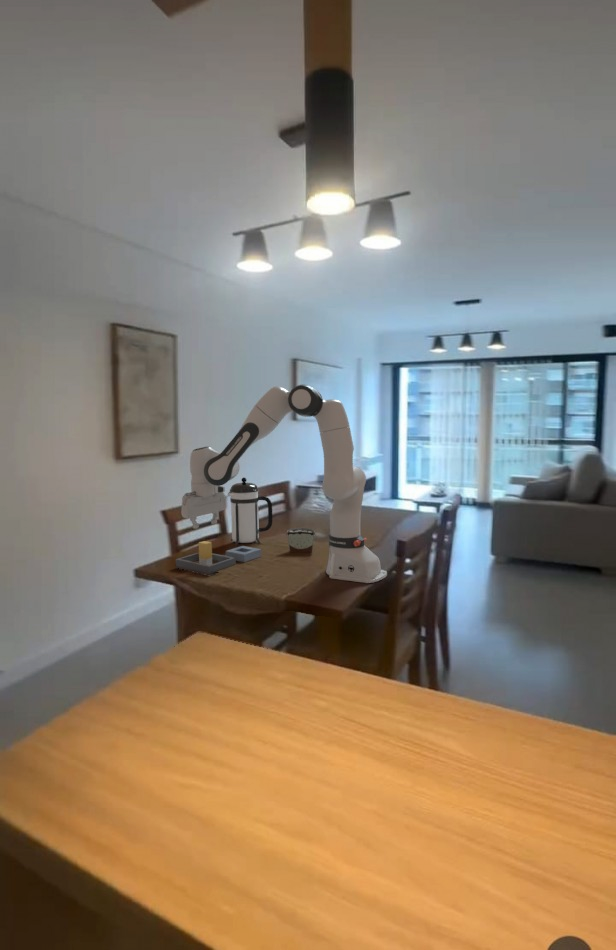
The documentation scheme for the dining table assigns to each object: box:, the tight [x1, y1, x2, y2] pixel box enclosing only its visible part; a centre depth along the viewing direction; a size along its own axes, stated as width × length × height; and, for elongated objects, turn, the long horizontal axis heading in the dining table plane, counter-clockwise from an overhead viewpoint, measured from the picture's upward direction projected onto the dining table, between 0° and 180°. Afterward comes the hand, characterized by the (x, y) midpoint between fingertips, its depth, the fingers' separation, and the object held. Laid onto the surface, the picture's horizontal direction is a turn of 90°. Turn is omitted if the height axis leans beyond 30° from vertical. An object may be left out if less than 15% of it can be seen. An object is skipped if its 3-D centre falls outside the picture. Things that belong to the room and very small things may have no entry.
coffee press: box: [226, 477, 273, 546], centre depth 247 cm, size 17×16×30 cm
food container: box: [285, 527, 316, 554], centre depth 231 cm, size 12×6×10 cm, turn 84°
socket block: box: [225, 545, 262, 563], centre depth 221 cm, size 10×10×4 cm
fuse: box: [198, 540, 213, 565], centre depth 210 cm, size 4×3×9 cm
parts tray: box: [175, 551, 237, 576], centre depth 211 cm, size 18×14×4 cm
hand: (205, 525), depth 209 cm, fingers open, 8 cm apart
